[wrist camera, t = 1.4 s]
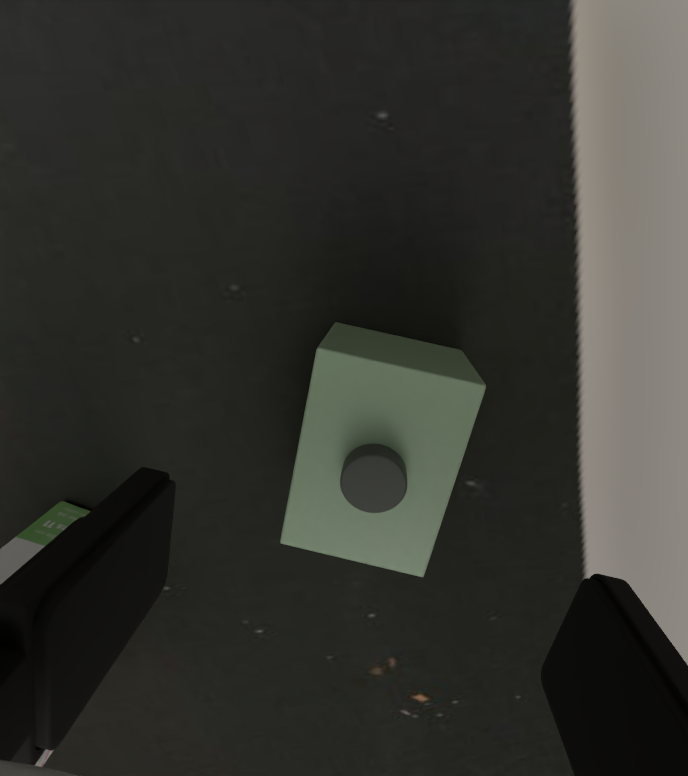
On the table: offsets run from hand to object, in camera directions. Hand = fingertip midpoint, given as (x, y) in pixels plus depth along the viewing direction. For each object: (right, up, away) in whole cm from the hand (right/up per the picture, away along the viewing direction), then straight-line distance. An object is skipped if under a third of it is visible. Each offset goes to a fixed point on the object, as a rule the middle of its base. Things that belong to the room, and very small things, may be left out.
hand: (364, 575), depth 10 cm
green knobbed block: (+1, +3, +8) cm, 9 cm away
